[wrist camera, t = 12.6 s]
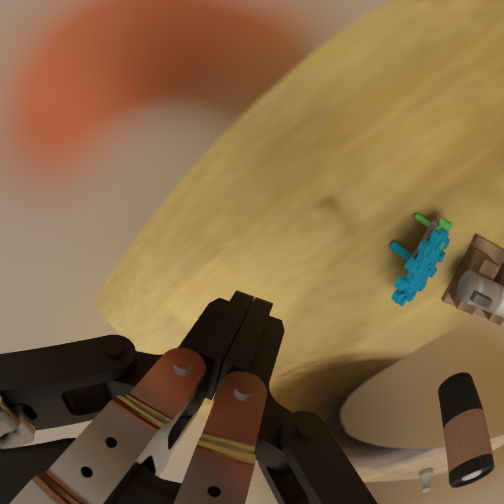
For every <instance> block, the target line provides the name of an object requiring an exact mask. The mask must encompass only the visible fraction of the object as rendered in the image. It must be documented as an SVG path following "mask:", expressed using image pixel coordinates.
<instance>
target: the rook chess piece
mask: <svg viewBox="0 0 504 504" xmlns="http://www.w3.org/2000/svg"><path fill="white" fill-rule="evenodd" d="M432 471H433V470H432V469H431V468H428V469H424V470H422V471H421V472H420V473H419V474H420V478H421V479H422V487H423V488H422V490H421V491H422V493H425V492H426V493H427V491H428V492H429V491H430V489H431V487H430V478H431V475H432V473H433V472H432Z"/></svg>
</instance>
